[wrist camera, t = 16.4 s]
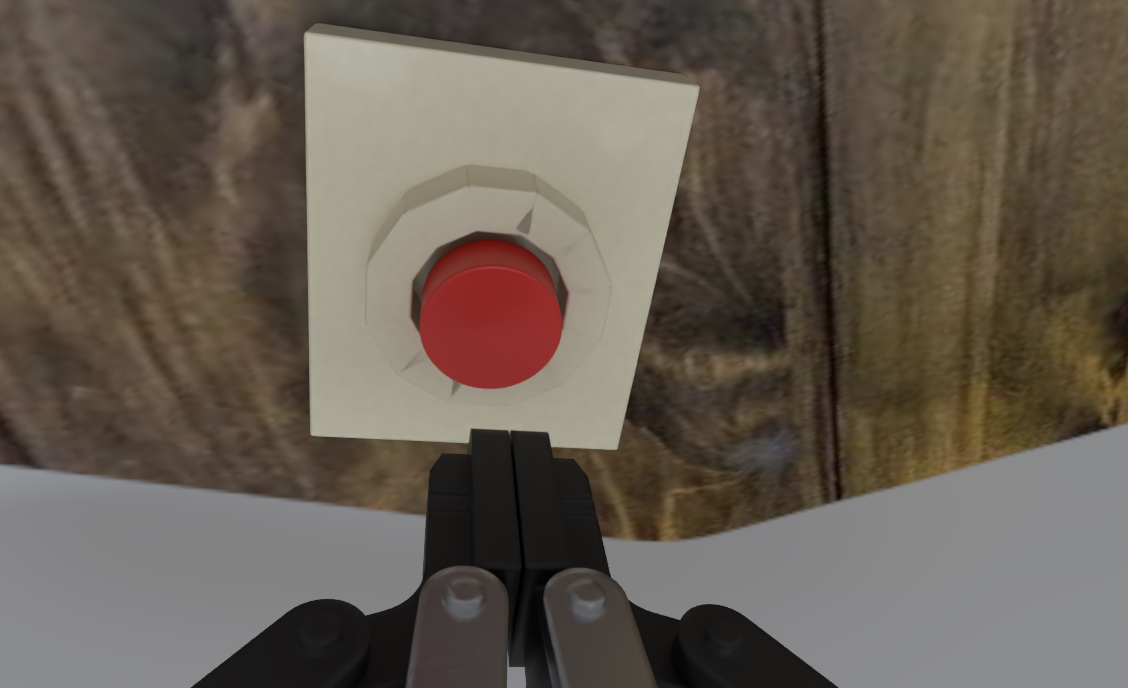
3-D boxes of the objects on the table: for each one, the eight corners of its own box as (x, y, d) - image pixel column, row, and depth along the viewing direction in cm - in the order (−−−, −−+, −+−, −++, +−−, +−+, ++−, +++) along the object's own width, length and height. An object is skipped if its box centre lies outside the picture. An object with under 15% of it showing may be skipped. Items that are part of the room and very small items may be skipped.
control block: (609, 421, 27) (628, 486, 24) (318, 406, 25) (299, 474, 22) (684, 73, 21) (722, 101, 18) (314, 22, 19) (288, 43, 16)
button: (545, 360, 22) (552, 394, 20) (418, 351, 21) (415, 386, 20) (564, 244, 20) (572, 272, 18) (426, 231, 19) (424, 258, 18)
